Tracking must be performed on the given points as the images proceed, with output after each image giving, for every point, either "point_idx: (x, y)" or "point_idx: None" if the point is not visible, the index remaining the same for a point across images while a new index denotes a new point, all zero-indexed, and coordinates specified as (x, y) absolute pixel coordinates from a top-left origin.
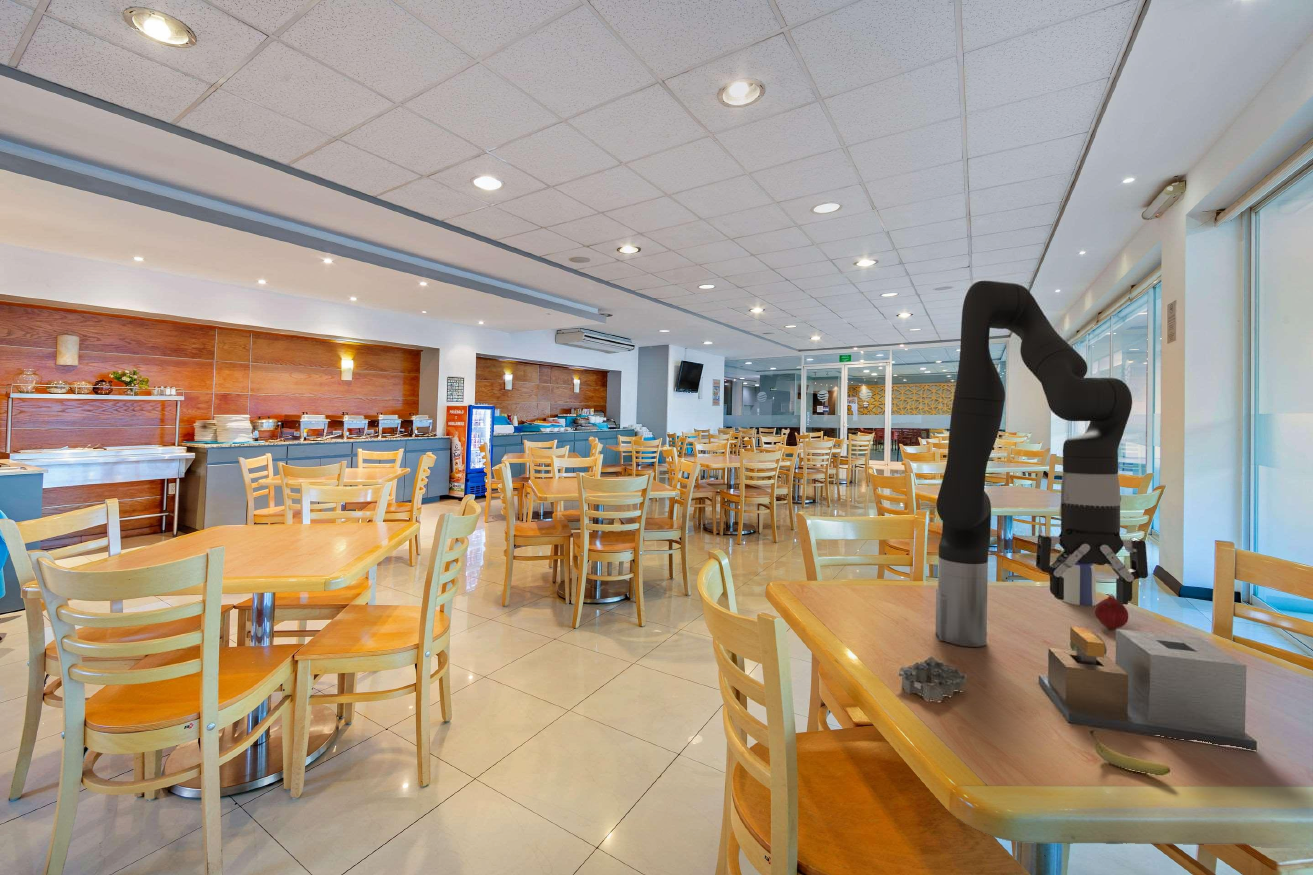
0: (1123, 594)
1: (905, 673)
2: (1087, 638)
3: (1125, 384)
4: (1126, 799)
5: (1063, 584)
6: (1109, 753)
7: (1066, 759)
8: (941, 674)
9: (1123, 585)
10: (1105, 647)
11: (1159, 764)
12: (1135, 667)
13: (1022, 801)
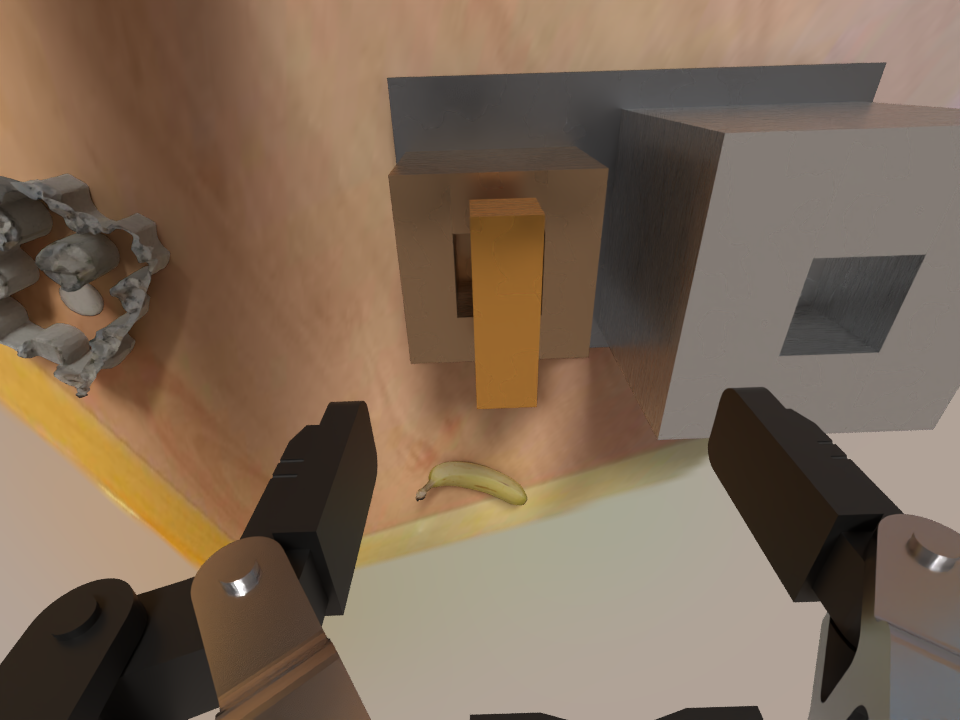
0: (741, 510)
1: None
2: (491, 371)
3: None
4: (440, 536)
5: (354, 559)
6: (447, 485)
7: (381, 475)
8: (78, 286)
9: (779, 570)
10: None
11: (514, 500)
12: (643, 299)
13: None
